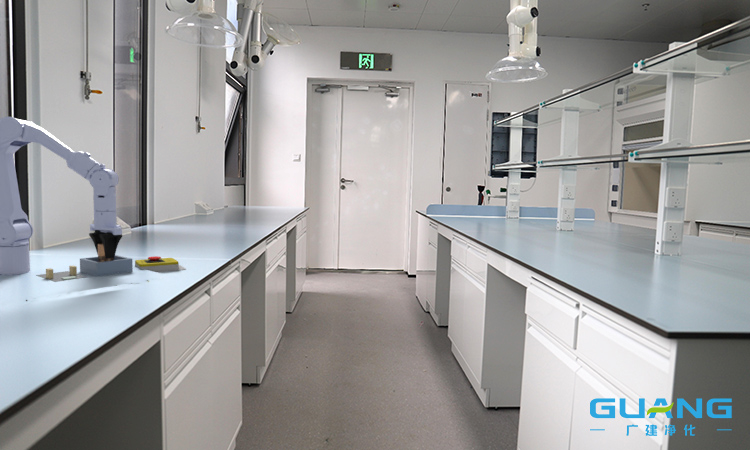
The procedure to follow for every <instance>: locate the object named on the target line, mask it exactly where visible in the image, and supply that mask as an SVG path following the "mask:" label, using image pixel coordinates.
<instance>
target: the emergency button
mask: <svg viewBox="0 0 750 450" xmlns="http://www.w3.org/2000/svg"><path fill="white" fill-rule="evenodd" d="M134 268H137V269H139V270H146V271H148V272H149V271H150V272H152V273H153V272H154V273H163V272H175V271H186V270H187V269H186V268H185V267H184V266H182V265H181V264H180V263H179V260H177V259H175V258H174V257H163V258H162V257H161V256H158V255H157V256H155V255H154V256H148V257H147V259H135V260H134Z"/></svg>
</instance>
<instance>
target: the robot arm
mask: <svg viewBox="0 0 750 450" xmlns="http://www.w3.org/2000/svg"><path fill="white" fill-rule="evenodd" d="M31 143H34V144H35V143H36V144H39V145H41V146H42V147H44V148H46V149H47V150H49V151H50V152H52V153H54V154H56V155H57V156H58V157H60V158H61V159H63V160H65V161H66V167H67V168H69V169H70V170H72V171H73V172H74V173H76V174H78V175H79V176H81V177H82V178H84V179H85V180H86V181H88V182H89V184H90V186H91V187H92V189H93V191H92V192H93V196H92V197H93V223H90V224H89V231H91V232H90V233H88V235H89V237H90V238H91V240H92V242H93V244H94V247H95V250H96V255H98V244H99V243H103V246H104V252H105V257H106V259H109V258H114V257H115V255H116V253H117V252H116V251H117V248H118V245H119V243H120V241H121V239H122V238H123V228H122V227H121V224H118V223H117V222H118V221H117V216H118V215H117V192H116V191H117V189H116V188H117V187H116V186H118V184H119V176H118V174H117V173H116V171H114V169H111V168H106V165H105V163H100V162H99V161H97V160H96V159H94V158H92V157H91V156H92V155H91V153H89V152H84V151H82V150H78V151H74V150H73V149H71V148H70V147H69V146H68V145H66V144H65V143H64V142H62V141H61V140H59V139H58V138H57V137H55V136H54V135H53V134H52V133H50V132H48V131H47V130H46V129H44V128H43V127H41V126H39V125H37V124H36V123H34V122H33V121H32V120H31V121H30V120H26V119H25V120H24V119H19V118H16V117H13V116H3V117H1V118H0V275H8V276H9V275H20V274H25V273H30V271H31V263H30V261H31V260H30V257H31V256H30V241H29V240H30V239H31V238H32V237H33V234H34V227H33V226H32V224H31V222H30V221H29V217H28V215H27V213H26V212H24V210H23V209H22V204H21V197H20V191H19V184H18V178H17V172H16V166H15V159H14V154H15V153H16V152H17V151H19V150H20V148H22V147H23V146H26V145H28V144H31ZM93 231H94V232H93Z"/></svg>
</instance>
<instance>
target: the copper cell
mask: <svg viewBox="0 0 750 450" xmlns="http://www.w3.org/2000/svg"><path fill="white" fill-rule="evenodd" d="M97 257H98V262H104V261H112V260H114V258H109V259H106V257H105V252H104V246H103V243H99V244H98V254H97Z"/></svg>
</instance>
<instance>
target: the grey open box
mask: <svg viewBox="0 0 750 450" xmlns="http://www.w3.org/2000/svg"><path fill="white" fill-rule="evenodd" d="M133 266H134V265H133V258H131V257H126V256H122V255H119V254H118V255H117V254H115V257H114V260H112V261H104V262H98V256H91V257H83V258H79V272H80V273H84V274H86V275H89V276H93V277H104V276H111V275H117V274H118V275H119V274H124V273H130V272H131V273H132V272H133Z"/></svg>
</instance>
